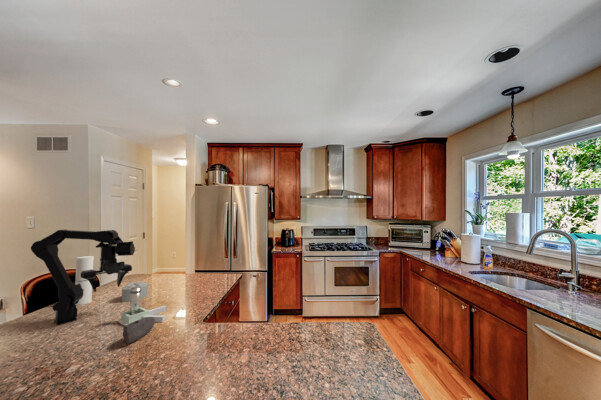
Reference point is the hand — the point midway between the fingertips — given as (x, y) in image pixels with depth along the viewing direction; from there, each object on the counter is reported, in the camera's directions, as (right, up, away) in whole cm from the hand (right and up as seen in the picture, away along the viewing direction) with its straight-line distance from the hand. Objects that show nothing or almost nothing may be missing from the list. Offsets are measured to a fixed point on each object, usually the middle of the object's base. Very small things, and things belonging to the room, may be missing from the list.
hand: (107, 289), depth 116 cm
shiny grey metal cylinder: (+17, -12, -5) cm, 21 cm away
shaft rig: (+22, -13, -3) cm, 26 cm away
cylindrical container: (-27, -14, +18) cm, 36 cm away
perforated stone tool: (+29, -12, -19) cm, 37 cm away
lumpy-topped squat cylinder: (-4, -15, +24) cm, 29 cm away
